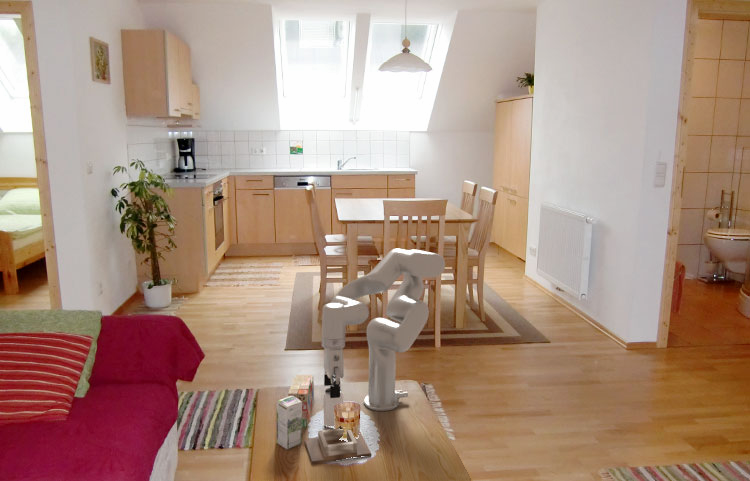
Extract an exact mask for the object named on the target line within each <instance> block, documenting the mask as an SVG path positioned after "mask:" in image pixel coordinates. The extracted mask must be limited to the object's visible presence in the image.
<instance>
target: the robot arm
mask: <svg viewBox="0 0 750 481" xmlns="http://www.w3.org/2000/svg"><path fill="white" fill-rule="evenodd" d="M445 269H446V261H445V259H444V256H442V255H441V254H439V253H436V252H430V251H426V250H423V249H422V250H421V249H404V248H393V249H391V250H390V251H389V252H388V253H387V254H386V255H385V256H383V258H381V260H380V261H379V263H377V265H376V266H375V267H374V268H373V269H371V271H370V272H369V273H368V274H365V275H362V276H360V277H358V278H357V279H354V280H352V281H350V282H348V283H347V284H345V285H344V286H342V288H341V289H339V291H338V292H337V293H336V294H335V295H334V296H333V298H332V299H331V301H330V302H329V303H326V304H324V305H323V307H322V316H321V317H322V318H321V319H322V320H321V321H322V323H321V347H322V348H324V349H323V369H324V373H323V374H324V375H323V378H324V379H323V385H324V386H325V387H326V386H328V387H329V386H330V387H329V388H330V398H339V397H340V389H341V379H343V378H344V375H345V374H344V371H345V370H344V369H345V367H344V350H343V349H344V348H345V347H346V327H347V326H349V325H350V326H351V325H352V326H353V325H354V326H355V325H360V324H363V323H364V322H365V321H367V319H368V318H369V315H370V309H369V307H368V306H367V304H365V303H363V302H361V301H359V300H358V299H361V298H362V297H365V296H369V295H370V296H371V295H377V294H381V293H385V292H387V291H389V289H390V288H391V287H392V286H393V285H394V283H395V282H396V281H397V280H398V279H399V278H400V277H401V276H402V275H403V277H402V278H403V280H402V282H401V283H400V285H399V287H398V288H397V290H396V291H395V293H394V294H393V295H392V297H391V298H390V300H389V301H388V303H387V305H386V308H385V313H386V315H387V317H388V318H386V317H385V318H384V317H375V318H372V319H371V320H370V321H369V323H368V324H367V327H366V339H367V346H368V394H367V395H366V396H365V397H364V399H363V404H364V406H365V407H366V408H368V409H370V410H374V411H379V412H385V411H386V412H387V411H390V410H391V411H392V410H395V409H396V408H397V407H399V405H400V399H402V398H408V397H409V394H408V393H409V392H408V391H403V390H402V389H399V390H396V370H397V369H396V366H397V365H396V363H397V356H396V355H397V354H396V353H405V352H406V351H408V350H409V349H410V348H411V347H412V345H413V344H414V342H415V341H416V339H417V338H418V337H419V335H420V333H421V332H422V330H423V329H424V327H425V325H426V324H427V322H428V319H429V314H430V309H429V306H428V304H427V303H426V301H424V300H421V299H420V298H421V297H422V295H423V293H424V287H425V286H424V280H423V278H437V277H438V278H439V277H440V276H441V275H442V274H444V273H443V272H444V271H445ZM389 318H390V319H389ZM391 319H392V320H391Z"/></svg>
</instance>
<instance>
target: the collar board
mask: <svg viewBox="0 0 750 481" xmlns="http://www.w3.org/2000/svg"><path fill="white" fill-rule="evenodd" d="M340 428H341V427H340ZM340 428H337V429H329V428H328V429H323V430H318V431H317V432H318V433H317V435H318V436H317V437H310V438H304V443H305V446H306V450H307V453H308V456H309V457H308V458H310V459H309V460H310V461H311V463H310V464H311V465H317V464H324V463H331V461H333V462H337V461H336V460H340V461H343V460H342V459H346V458H351V457H352V458H353V457H361V456H368V457H372V451H371V450H370V448H369V446H368V444H367V442H366V440H365V438H364V436H363V434H362V432H361V431H359V432H360V434H359V438H358V439H355V437H354V435H353V433H354V432H353V431H352V430H347V440H348V442H346V441H344V440H342V441H341V440H339V439H340V438H341V437H342V436H343V432H344V430H343V429H340ZM361 458H362V457H361Z"/></svg>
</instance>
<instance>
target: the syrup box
mask: <svg viewBox="0 0 750 481" xmlns="http://www.w3.org/2000/svg"><path fill="white" fill-rule="evenodd" d="M302 437H303V427H302V402H301V401H300V400H299V399H297V398H296V397H294V396H289V397H288V396H286V397H284V398H281V399H278V400H276V443H277V444H278V445H279V446H281V447H282V448H284V449H286V450H287V451H288V450H291V449H292V448H294V447H297V446H299V445H301V444H302V443H303V440H302V439H303V438H302Z"/></svg>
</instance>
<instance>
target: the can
mask: <svg viewBox="0 0 750 481" xmlns="http://www.w3.org/2000/svg"><path fill="white" fill-rule="evenodd" d="M324 392H325V393H323V425H324V424H325V425H327V426H334V406H335V405H336V404H339V403H343V404H344V393H343V390H342V389H341V388H340V397H339V398H330V387H328V388H326V389H325V391H324ZM325 425H324V426H325Z"/></svg>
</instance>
